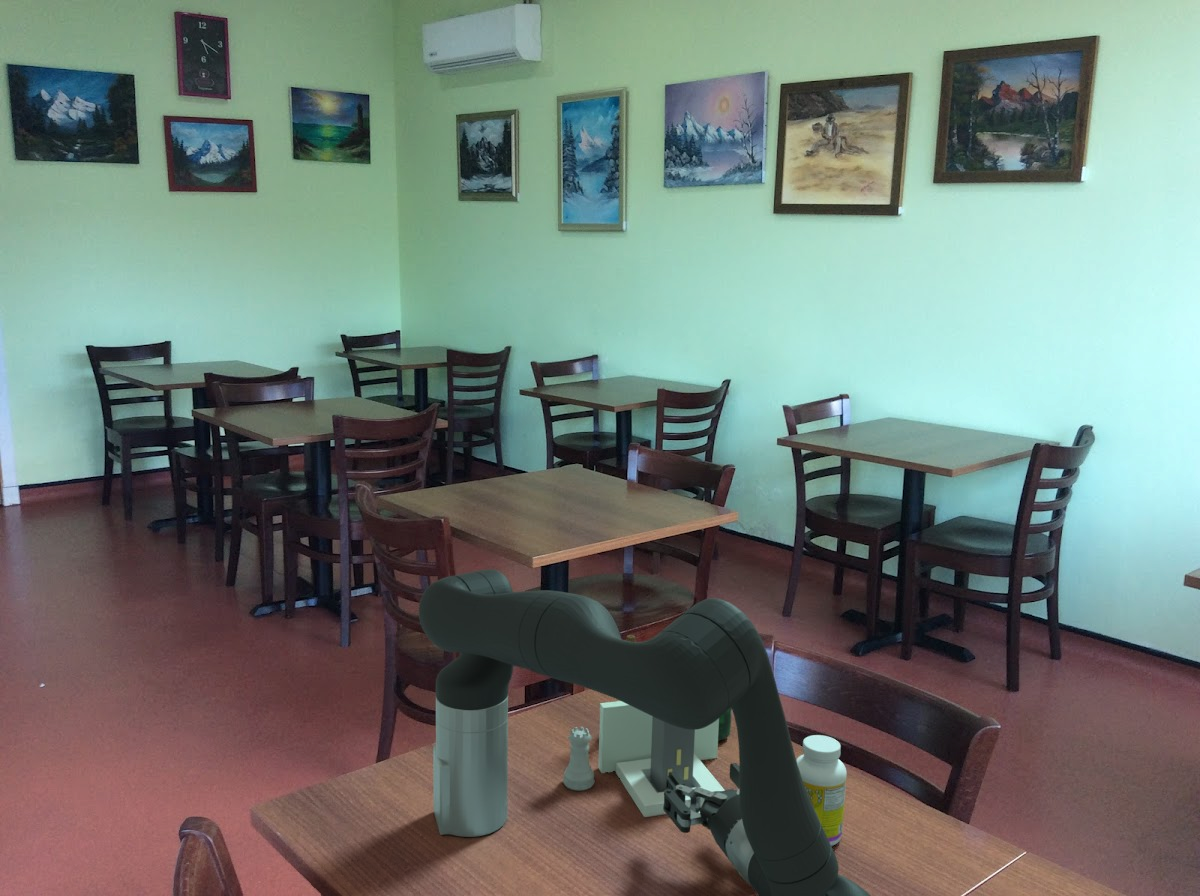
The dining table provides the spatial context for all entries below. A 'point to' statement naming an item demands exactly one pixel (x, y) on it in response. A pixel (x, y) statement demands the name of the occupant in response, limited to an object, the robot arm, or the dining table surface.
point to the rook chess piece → (579, 762)
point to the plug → (671, 753)
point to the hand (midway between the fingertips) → (701, 773)
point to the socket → (647, 754)
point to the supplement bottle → (824, 782)
